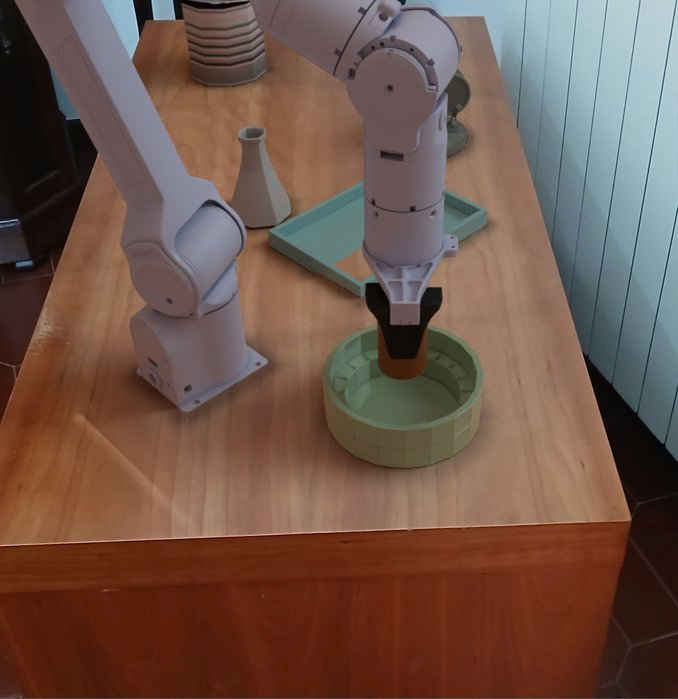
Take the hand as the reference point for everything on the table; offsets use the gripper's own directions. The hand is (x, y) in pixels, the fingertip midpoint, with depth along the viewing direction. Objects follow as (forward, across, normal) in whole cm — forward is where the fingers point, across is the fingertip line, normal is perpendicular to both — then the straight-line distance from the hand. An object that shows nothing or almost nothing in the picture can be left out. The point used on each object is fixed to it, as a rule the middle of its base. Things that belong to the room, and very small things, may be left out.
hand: (402, 337), depth 74 cm
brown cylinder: (+3, 0, 0) cm, 3 cm away
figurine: (+9, +49, -4) cm, 50 cm away
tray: (+9, +27, +2) cm, 29 cm away
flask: (+9, +32, +16) cm, 37 cm away
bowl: (+9, 0, 0) cm, 9 cm away
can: (+9, +70, +24) cm, 75 cm away
